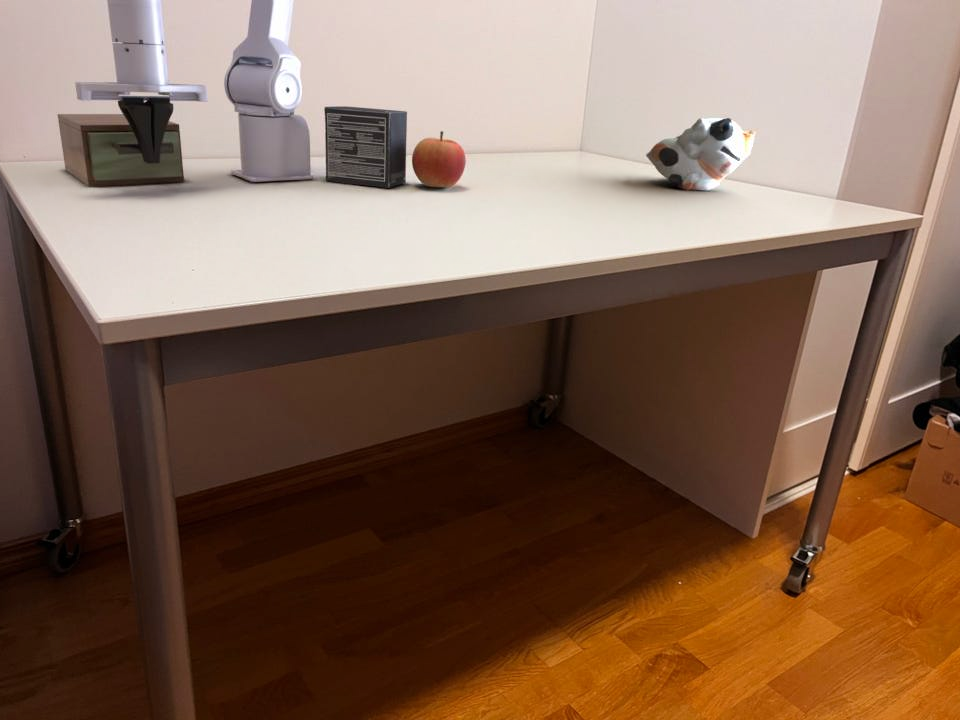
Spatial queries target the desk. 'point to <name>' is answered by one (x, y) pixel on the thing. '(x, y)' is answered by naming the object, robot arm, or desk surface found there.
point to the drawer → (131, 156)
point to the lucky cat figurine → (702, 153)
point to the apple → (438, 162)
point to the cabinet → (78, 148)
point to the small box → (365, 146)
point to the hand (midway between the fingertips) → (151, 162)
